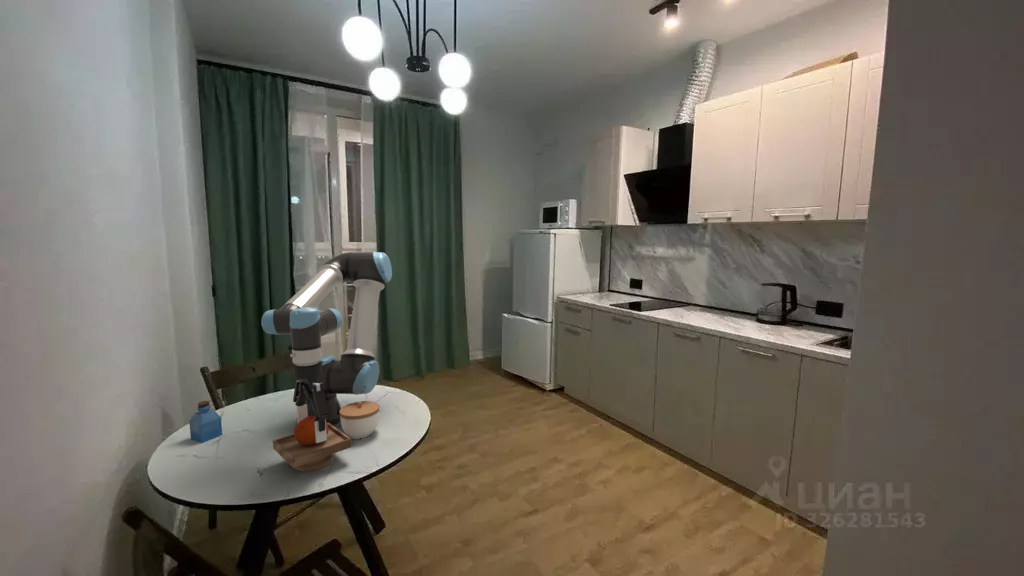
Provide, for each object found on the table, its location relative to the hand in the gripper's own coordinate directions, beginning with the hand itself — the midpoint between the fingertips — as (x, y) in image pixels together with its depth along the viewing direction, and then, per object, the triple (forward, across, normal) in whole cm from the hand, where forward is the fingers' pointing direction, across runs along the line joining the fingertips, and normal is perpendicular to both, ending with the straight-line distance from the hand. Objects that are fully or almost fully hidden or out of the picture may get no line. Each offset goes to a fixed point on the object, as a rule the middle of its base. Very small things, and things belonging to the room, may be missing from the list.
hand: (311, 433), depth 118 cm
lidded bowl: (+9, -7, +18) cm, 21 cm away
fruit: (+3, 0, 0) cm, 3 cm away
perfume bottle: (+9, -43, -18) cm, 47 cm away
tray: (+9, 0, 0) cm, 9 cm away
